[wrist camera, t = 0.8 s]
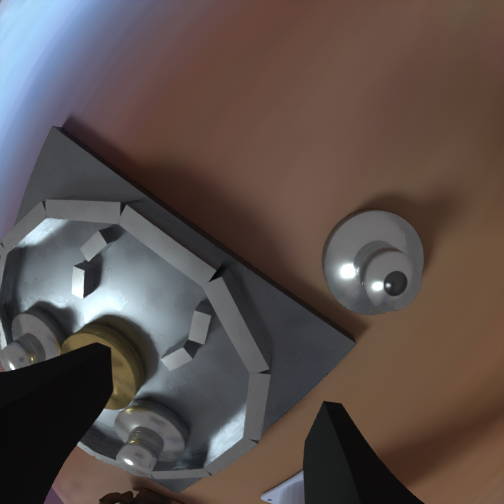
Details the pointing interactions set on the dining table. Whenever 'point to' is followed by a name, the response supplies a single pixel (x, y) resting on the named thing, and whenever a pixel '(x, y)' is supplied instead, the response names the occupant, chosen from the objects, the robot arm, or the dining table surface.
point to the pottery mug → (136, 498)
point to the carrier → (154, 319)
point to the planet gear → (373, 262)
